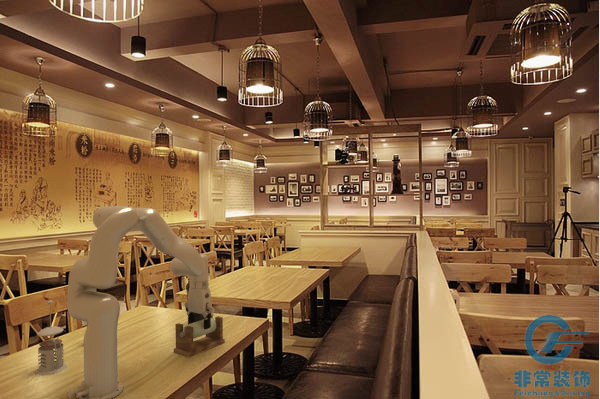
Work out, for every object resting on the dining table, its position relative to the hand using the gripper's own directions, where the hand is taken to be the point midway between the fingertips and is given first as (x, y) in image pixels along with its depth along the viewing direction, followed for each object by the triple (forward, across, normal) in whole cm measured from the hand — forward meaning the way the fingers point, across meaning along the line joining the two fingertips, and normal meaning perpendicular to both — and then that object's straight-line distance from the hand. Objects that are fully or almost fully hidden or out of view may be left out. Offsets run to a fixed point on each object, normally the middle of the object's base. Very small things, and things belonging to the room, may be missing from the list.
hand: (199, 326), depth 168 cm
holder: (+9, 0, 0) cm, 9 cm away
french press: (+9, +27, +45) cm, 53 cm away
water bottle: (+9, +23, -18) cm, 31 cm away
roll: (+1, 0, 0) cm, 1 cm away
